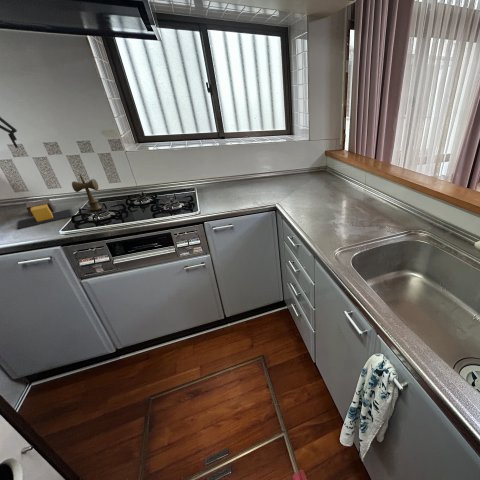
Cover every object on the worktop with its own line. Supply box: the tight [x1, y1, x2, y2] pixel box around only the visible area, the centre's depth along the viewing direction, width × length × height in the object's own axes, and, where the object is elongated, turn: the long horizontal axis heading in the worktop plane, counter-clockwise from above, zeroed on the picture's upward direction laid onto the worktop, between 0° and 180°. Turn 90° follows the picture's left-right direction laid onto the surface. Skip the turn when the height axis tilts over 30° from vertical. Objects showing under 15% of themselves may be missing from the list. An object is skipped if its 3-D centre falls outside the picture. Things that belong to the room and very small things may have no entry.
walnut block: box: [25, 198, 55, 218], centre depth 144 cm, size 9×9×5 cm
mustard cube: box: [31, 204, 53, 222], centre depth 135 cm, size 6×6×6 cm
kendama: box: [71, 173, 103, 212], centre depth 141 cm, size 6×10×20 cm, turn 113°
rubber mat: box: [17, 209, 72, 230], centre depth 136 cm, size 20×12×1 cm, turn 133°
